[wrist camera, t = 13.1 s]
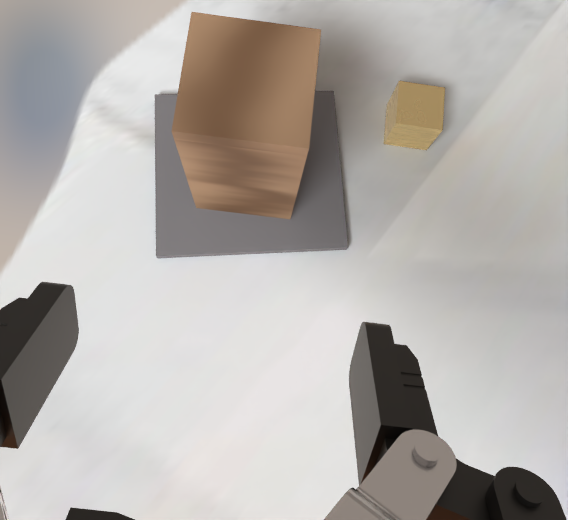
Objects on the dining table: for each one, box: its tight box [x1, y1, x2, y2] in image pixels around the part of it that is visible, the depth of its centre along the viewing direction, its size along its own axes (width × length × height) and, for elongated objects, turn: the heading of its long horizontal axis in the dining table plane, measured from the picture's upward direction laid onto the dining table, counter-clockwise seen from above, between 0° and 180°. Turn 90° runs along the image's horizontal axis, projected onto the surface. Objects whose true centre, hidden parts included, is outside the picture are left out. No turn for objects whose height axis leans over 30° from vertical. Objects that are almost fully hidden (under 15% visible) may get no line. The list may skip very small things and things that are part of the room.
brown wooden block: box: [172, 12, 321, 219], centre depth 28 cm, size 6×6×10 cm
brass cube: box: [384, 81, 445, 150], centre depth 33 cm, size 3×3×3 cm
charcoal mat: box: [155, 91, 348, 258], centre depth 33 cm, size 12×11×1 cm
